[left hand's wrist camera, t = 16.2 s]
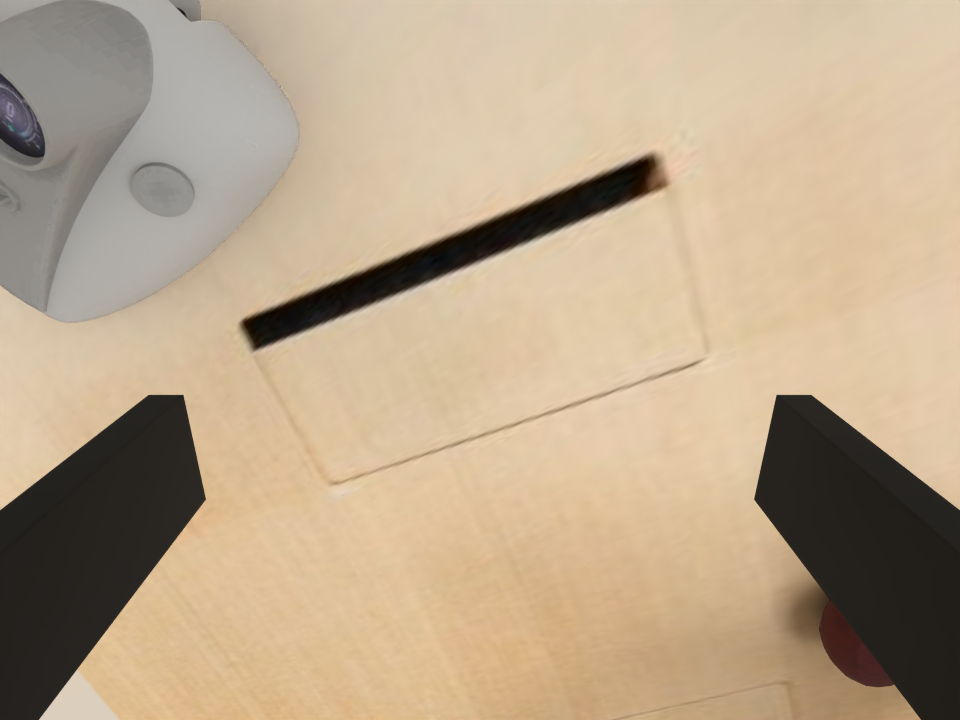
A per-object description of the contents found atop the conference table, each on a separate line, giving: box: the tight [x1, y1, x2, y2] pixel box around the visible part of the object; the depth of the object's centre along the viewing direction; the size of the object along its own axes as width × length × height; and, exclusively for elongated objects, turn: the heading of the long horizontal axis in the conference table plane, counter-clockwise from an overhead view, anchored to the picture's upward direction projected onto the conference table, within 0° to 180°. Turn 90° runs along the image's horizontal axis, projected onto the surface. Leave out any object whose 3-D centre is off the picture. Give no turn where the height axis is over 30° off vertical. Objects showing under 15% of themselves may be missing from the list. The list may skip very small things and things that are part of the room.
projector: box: [0, 0, 299, 323], centre depth 30 cm, size 22×23×15 cm
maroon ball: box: [819, 601, 894, 687], centre depth 48 cm, size 7×8×7 cm
